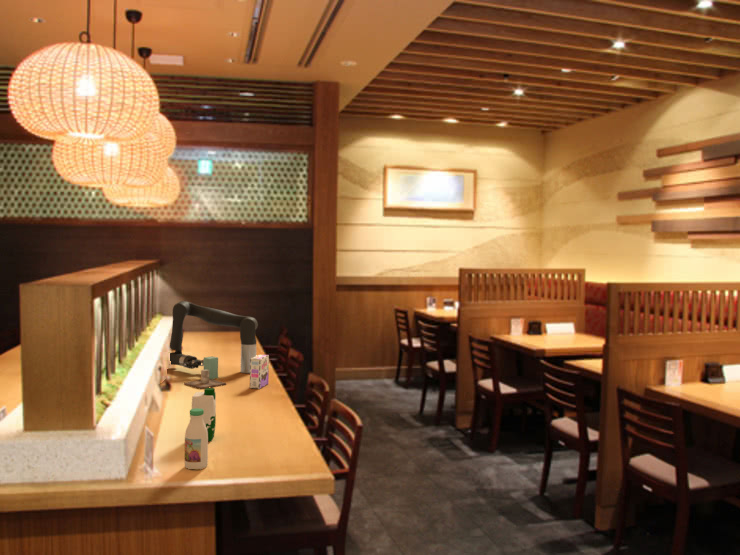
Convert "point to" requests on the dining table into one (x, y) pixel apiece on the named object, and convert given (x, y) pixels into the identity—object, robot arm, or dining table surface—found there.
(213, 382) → the walnut base
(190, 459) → the milk bottle
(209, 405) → the white green-capped container
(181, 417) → the dining table surface
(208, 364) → the teal cap
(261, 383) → the candy box
